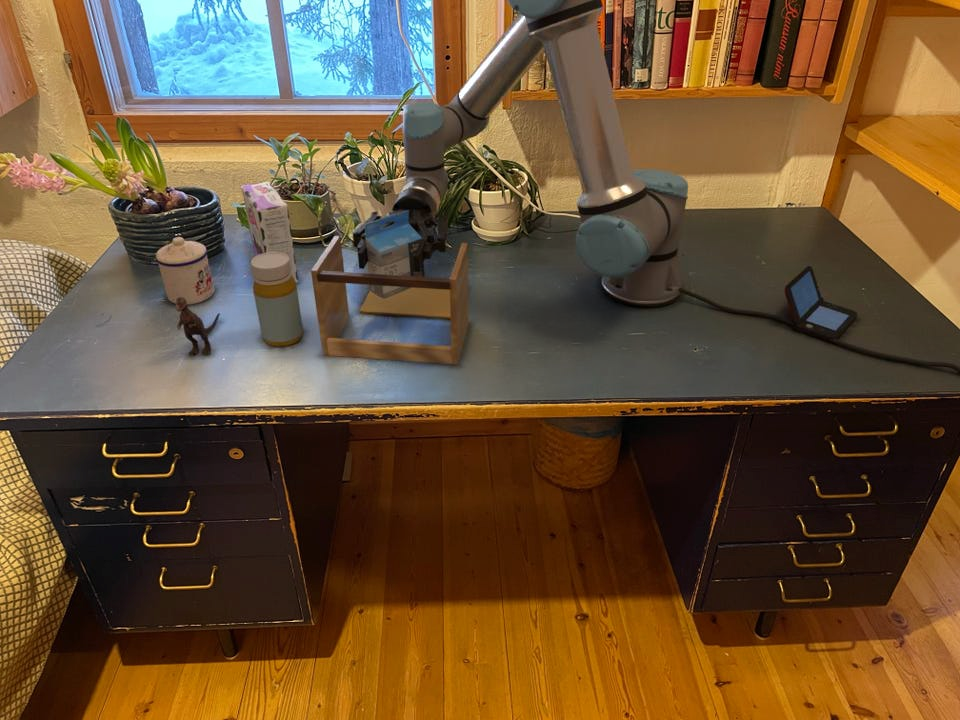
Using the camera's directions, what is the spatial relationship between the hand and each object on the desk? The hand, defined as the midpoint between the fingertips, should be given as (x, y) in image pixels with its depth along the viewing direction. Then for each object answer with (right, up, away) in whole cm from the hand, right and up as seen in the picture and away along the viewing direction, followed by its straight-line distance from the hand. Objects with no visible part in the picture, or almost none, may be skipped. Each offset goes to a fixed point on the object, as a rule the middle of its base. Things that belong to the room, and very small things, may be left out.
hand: (388, 262), depth 117 cm
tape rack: (0, -12, +11) cm, 17 cm away
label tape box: (+1, -3, +8) cm, 9 cm away
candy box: (-27, +2, +33) cm, 42 cm away
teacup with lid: (-41, -2, +26) cm, 48 cm away
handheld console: (+76, -8, +17) cm, 78 cm away
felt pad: (+2, -4, +23) cm, 23 cm away
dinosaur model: (-33, -13, +11) cm, 37 cm away
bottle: (-20, -12, +12) cm, 26 cm away
